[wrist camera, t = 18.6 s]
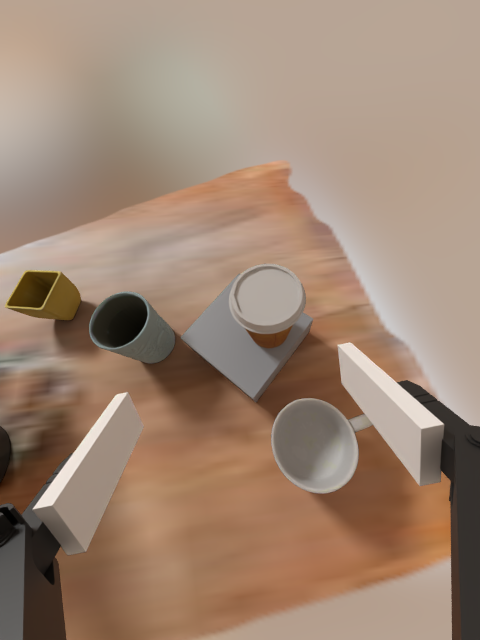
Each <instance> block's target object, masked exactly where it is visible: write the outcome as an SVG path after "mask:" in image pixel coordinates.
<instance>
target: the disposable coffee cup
mask: <svg viewBox="0 0 480 640" xmlns="http://www.w3.org/2000/svg"><path fill="white" fill-rule="evenodd" d="M305 304H306V294H305V290H304V288H303V286H302V284H301V282H300V281H299V279H298V278H297V276H296V275H295V274H294V273H293V272H291V271H290V270H289V269H287V268H285V267H283V266H280V265H276V264H261V265H256V266H253V267H251V268H249V269H247V270H245V271H244V272H243V273H242V274H241V275H239V276H238V278H237V279H236V281H235V282H234V284H233V287H232V289H231V291H230V295H229V307H230V311H231V313H232V316H233V317H234V319H235V320H236V321H237V322H238V323H239V324H240V325H241V326H242V327H244V328H245V330H246V331H247V332H248V334H249V335H250V337H251V338H252V339H253V341H254V342H255V343H256V344H257V345H259V346H261V347H264V348H275V347H278V346H280V345H281V344H282V343H283V342H284V341H285V340H286V338H287V336H288V334H289V332H290V330H291V328H292V326H293V324H294V323H295V322H296V321H297V320H298V319H299V318H300V316H301V315H302V313H303V311H304V308H305Z"/></svg>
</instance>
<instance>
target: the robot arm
mask: <svg viewBox="0 0 480 640" xmlns="http://www.w3.org/2000/svg"><path fill="white" fill-rule="evenodd" d="M338 354H339V363H340V373H341V382H342V385H343V386H344V387H345V389H346V390H347V391H348V392H349V394H350V395H351V396H352V398H353V399H354V400H355V402H356V403H357V404H358V406H359V407H360V408H361V410H362V411H363V412H364V413H365V415H366V416H367V417H368V419H369V420H370V421H371V423H372V424H373V425H374V427H375V428H376V429H377V431H378V432H379V433H380V434H381V436H382V437H383V438H384V440H385V441H386V442H387V444H388V445H389V446H390V448H391V449H392V450H393V452H394V453H395V454H396V456H397V457H398V458H399V459H400V461H401V462H402V463H403V465H404V466H405V467H406V469H407V470H408V471H409V473H410V474H411V475H412V477H413V478H414V479H415V480H416V482H417V483H418V484H419V486H423V485H428V484H433V483H438V482H441V471H442V472H443V473H444V474H445V475H446V476H447V477H448V478H449V479H450V480H451V484H450V496H449V501H451V580H452V581H451V584H452V640H480V427H479V426H471V425H469V424H468V423H466V422H465V421H464V420H463V419H461V418H460V417H459V416H458V415H456V414H455V413H454V412H452V411H451V410H450V409H449V408H447V407H446V406H445V405H443V404H442V403H441V402H440V401H437V399H436V398H435V397H433V396H432V395H430V394H429V393H428V392H427V391H426V390H424V389H423V388H422V387H421V386H419V385H417V384H414V383H412V382H410V381H408V380H406V381H401V382H395V381H394V380H393V379H392V378H391V377H390V376H388V375H387V374H386V373H385V372H384V371H383V370H381V369H380V368H379V367H378V366H377V365H376V364H375V363H373V362H372V361H371V360H370V359H369V358H368V357H367V356H365V355H364V354H363V353H362V352H361V351H360V350H359V349H357V348H356V347H355V346H354V345H353V344H352V343H351V342H349V343H345V344H340V345H338ZM143 427H144V426H143V423H142V421H141V419H140V417H139V415H138V413H137V410H136V408H135V406H134V404H133V402H132V400H131V397H130V395H129V393H128V392H126V393H122V394H117V395H116V396H115V397H114V398H113V400H112V401H111V403H110V404H109V405H108V407H107V408H106V409H105V411H104V412H103V413H102V415H101V416H100V418H99V419H98V420H97V422H96V423H95V424H94V426H93V427H92V429H91V430H90V431H89V433H88V434H87V435H86V437H85V438H84V439H83V441H82V442H81V444H80V445H79V446H78V448H77V449H76V450H75V452H74V453H71V454H70V455H69V456H68V457H67V458H66V459H65V460H64V461H62V462H61V463H60V465H59V466H58V467H57V469H56V470H55V471H54V473H53V475H52V476H51V477H50V478H49V479H48V481H47V482H46V485H44V486H43V487H42V488H41V490H40V491H39V492H38V494H37V495H36V496H35V498H34V499H33V500H32V502H31V503H30V504H29V506H28V507H27V508H26V510H25V511H24V512H23V514H22V515H21V514H20V513H19V512H18V510H17V509H16V508H15V507H14V505H13V504H10V503H7V504H3V505H0V640H66V632H65V622H64V613H63V603H62V593H61V583H60V574H59V564H58V561H57V559H56V558H55V555H56V554H57V552H58V550H59V548H60V546H61V547H62V549H63V550H64V551H65V553H66V554H67V555H73V554H78V553H83V552H86V551H87V549H88V546H89V544H90V542H91V540H92V538H93V536H94V533H95V531H96V529H97V527H98V525H99V523H100V520H101V518H102V516H103V514H104V512H105V510H106V507H107V505H108V503H109V501H110V499H111V497H112V494H113V492H114V490H115V488H116V486H117V484H118V481H119V479H120V477H121V475H122V473H123V471H124V468H125V466H126V464H127V462H128V460H129V458H130V456H131V453H132V451H133V449H134V447H135V445H136V443H137V440H138V438H139V436H140V434H141V432H142V430H143ZM9 456H10V443H9V438H8V435H7V433H6V432H5V430H4V429H3V428H2V427H1V426H0V482H1V480H2V478H3V476H4V474H5V471H6V469H7V465H8V461H9Z"/></svg>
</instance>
